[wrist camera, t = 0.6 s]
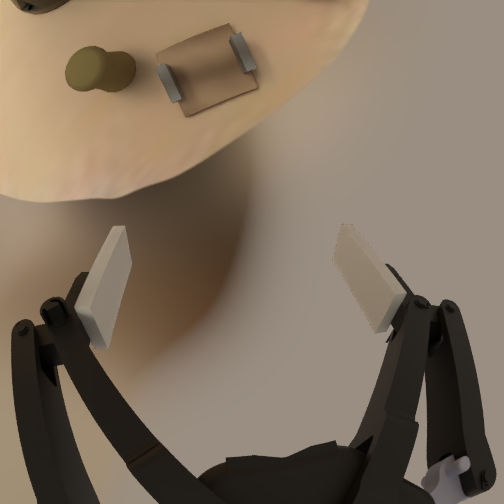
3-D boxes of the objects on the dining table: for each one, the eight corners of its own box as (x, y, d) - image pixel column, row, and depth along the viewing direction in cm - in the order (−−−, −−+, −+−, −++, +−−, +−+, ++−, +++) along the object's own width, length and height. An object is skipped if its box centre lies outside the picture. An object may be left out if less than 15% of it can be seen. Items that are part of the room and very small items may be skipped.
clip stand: (155, 55, 28) (147, 51, 23) (229, 24, 27) (232, 15, 22) (185, 117, 33) (180, 121, 29) (257, 87, 32) (264, 86, 28)
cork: (103, 48, 25) (67, 38, 16) (142, 55, 27) (116, 44, 18) (90, 88, 28) (50, 92, 19) (127, 95, 30) (96, 100, 21)
